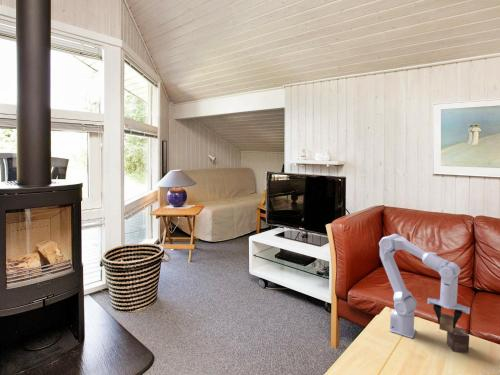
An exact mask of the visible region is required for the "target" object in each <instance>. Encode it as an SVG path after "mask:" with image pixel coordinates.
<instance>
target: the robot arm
mask: <svg viewBox="0 0 500 375" xmlns="http://www.w3.org/2000/svg"><path fill="white" fill-rule="evenodd" d="M378 245H379V258H380V260H381V263H382V265H383V268H384V270H385V273H386V274H387V278H388V281H389V283H390V286H391V288H392V291H393V293H394V294H393V298H392V300H393V302H394V304H393V307H394V309H393V308H392V310H391V313H390V322H389V332H391V333H394V334H397V335H400V336H404V337H408V338H410V339H414V336H415V334H416V331H417V330H416V328H415V310H416V309H417V308H418V302H417V300H416V298H415V297H414V296H413V294H412V292H411V291H409V290H408V289H407V287H406V285H405V282H404V280H403V277H402V275H401V272H400V270H399V268H398V265H397V263H396V261H395V257H394V256H395V253H396V251H400V250H401V251H402V250H404V251H406V252H408V253H409V254H411V255H413V256H415V257H417V258H418V259H420V260H422V263H423V265H425V266H427V267H428V268H430V269H432V270H434V271H435V272H437V273H438V274H439V276H440V277H441V278H440V292H439V294H440V295H439V299H438V298H432V297H428V298H427V302H426V303H427V305H433V307H432V308H433V311H434V313H435V315H436V318H437V321H438V325H440V316H441V314H442V308H444V309H447V310H454V312H453V316H454V323H453V328H457V326H456V325H457V323H458V321H459V319H460V318H461V316H462V315H463V313H465V314H467V315H470V314H471V313H470V312H471V311H470V310H471V307H468V306H465V305H462V304H460V303H457V302H458V287H459V286H458V284H459V283H458V282H459V280H458V279H459V277H458V276H459V275H460V274H461V268H460V266H459V265H458V264H457V263H456V262H454V261H449V260H447V259H444V258H442V257H441V256H439V255H438V254H437V253H436V252H431V251H429V252H427V251H425V250H424V249H422V248H420V247H418V246H416V245H415V244H413V243H412V242H410V241H409V240H408V239H406V238H405V237H404V236H402V235H400V234H398V233H392V234H391V235H388V236H387V235H386V236H383V237H382V238H381V239H380V241H379V242H378Z"/></svg>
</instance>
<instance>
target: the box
mask: <svg viewBox="0 0 500 375" xmlns="http://www.w3.org/2000/svg"><path fill="white" fill-rule="evenodd" d="M446 344H447V346H448V347H449V348H450V349H451V351H452V352H455V353H456V352H458V353H466V354H467V353H468V354H469V352H470V351H469V349H470V348H469V346H470V335H469V334H468V333H467V331H466V330H465V329H464V328H462V327H455V328H454V329H453V333H451V332H447V331H446Z"/></svg>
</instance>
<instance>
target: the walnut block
mask: <svg viewBox="0 0 500 375" xmlns="http://www.w3.org/2000/svg"><path fill="white" fill-rule="evenodd" d="M453 323H454V315H451V314H446V313H442V312H441V316H440V324H439V330H441V331H445V332H446V333H447V332H451V333H453V329H454V328H453Z"/></svg>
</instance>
